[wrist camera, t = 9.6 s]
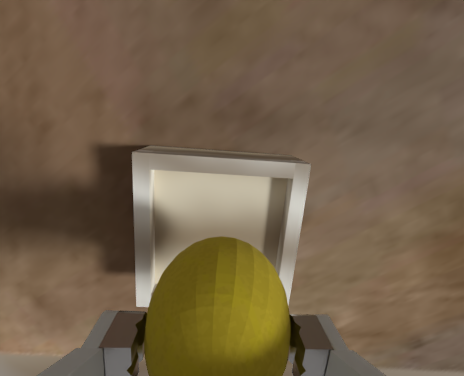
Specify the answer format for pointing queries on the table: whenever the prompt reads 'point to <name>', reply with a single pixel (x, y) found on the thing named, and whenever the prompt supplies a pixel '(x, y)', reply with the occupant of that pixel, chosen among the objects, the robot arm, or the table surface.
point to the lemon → (218, 314)
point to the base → (214, 206)
